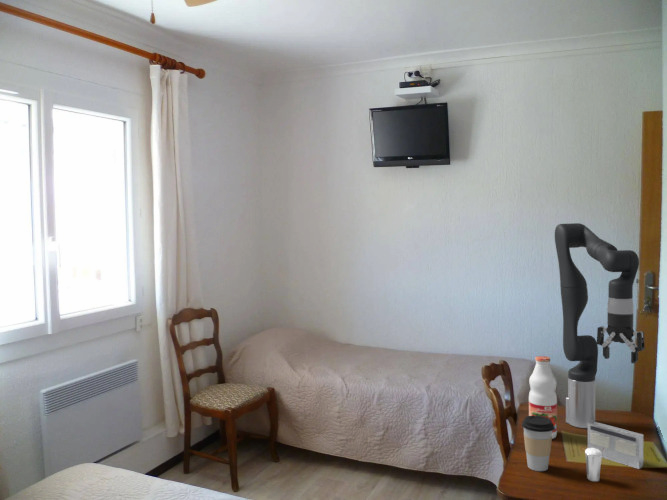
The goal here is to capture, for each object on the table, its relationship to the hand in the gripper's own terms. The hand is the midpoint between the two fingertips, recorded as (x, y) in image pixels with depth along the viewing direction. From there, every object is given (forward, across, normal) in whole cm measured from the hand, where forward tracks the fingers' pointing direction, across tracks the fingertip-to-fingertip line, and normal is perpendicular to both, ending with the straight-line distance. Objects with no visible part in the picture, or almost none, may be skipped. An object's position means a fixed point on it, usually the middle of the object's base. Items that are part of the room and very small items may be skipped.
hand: (620, 360), depth 184 cm
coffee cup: (+30, +11, +31) cm, 45 cm away
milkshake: (+30, -4, +26) cm, 40 cm away
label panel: (+30, -2, +8) cm, 31 cm away
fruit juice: (+30, +24, +6) cm, 39 cm away
